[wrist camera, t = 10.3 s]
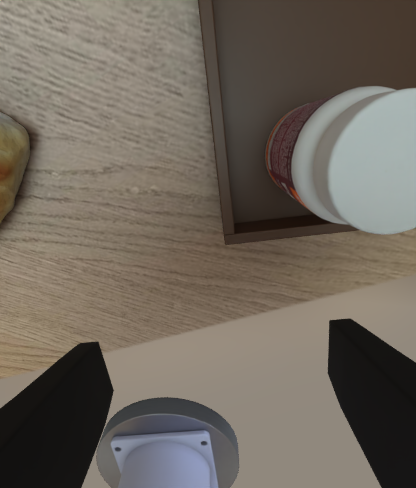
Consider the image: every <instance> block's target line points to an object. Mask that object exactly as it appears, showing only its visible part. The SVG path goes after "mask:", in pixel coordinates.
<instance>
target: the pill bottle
mask: <svg viewBox="0 0 416 488" xmlns="http://www.w3.org/2000/svg"><path fill="white" fill-rule="evenodd" d="M265 161H266V167H267V170H268V172H269V175H270V176H271V178H272V180H273V181H274V182H275V184H276V185H277V186H278V187H280V188H281V189H282V190H283V191H285V192H286V193H287V194H288V195H290V196H291V197H292V198H294V199H295V200H296V201H298V202H299V203H300V204H302V205H303V206H305V207H306V208H307V209H308V210H310V211H311V212H313V213H314V214H315V215H317V216H319V217H320V218H322V219H324V220H327V221H330V222H333V223H338V224H349V225H351V226H353V227H354V228H357V229H359V230H361V231H364V232H368V233H373V234H395V233H400V232H404V231H408V230H411V229H414V228H416V88H408V89H401V90H395V89H391V88H387V87H381V86H367V87H357V88H353V89H350V90H347V91H344V92H341V93H339V94H336V95H333V96H330V97H327V98H325V99H321V100H319V101H315V102H312V103H308V104H305V105H303V106H300V107H298V108H296V109H294V110H292V111H290V112H289V113H287V114H286V115H285V116H283V117H282V118H281V119H280V120H279V121H278V123H277V124H276V125H275V127H274V128H273V130H272V131H271V133H270V136H269V138H268V141H267V144H266V150H265Z"/></svg>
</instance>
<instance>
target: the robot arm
mask: <svg viewBox="0 0 416 488" xmlns="http://www.w3.org/2000/svg"><path fill="white" fill-rule="evenodd" d="M328 356H329V357H328V375H329V377H330V380H331V382H332V386H333V388H334V391H335V394H336V396H337V399H338V401H339V404H340V407H341V409H342V411H343V413H344V415H345V417H346V418H347V421H348V422H349V425H350V427H351V429H352V431H353V433H354V435H355V437H356V438H357V441H358V442H359V444H360V446H361V448H362V450H363V452H364V454H365V456H366V458H367V460H368V462H369V464H370V466H371V468H372V470H373V472H374V474H375V476H376V477H377V480H378V482H379V483H380V485H381V487H382V488H416V363H415V362H414V361H412V360H411V359H409V358H408V357H406V356H405V355H403V354H402V353H400V352H399V351H397V350H396V349H394V348H393V347H392V346H390V345H388V344H387V343H386V342H384V341H383V340H381V339H380V338H378V337H377V336H375V335H374V334H373V333H371V332H370V331H368V330H367V329H365V328H364V327H362V326H361V325H359V324H358V323H356V322H355V321H353V320H352V319H339V320H330V321H329V355H328ZM113 391H114V390H113V387H112V384H111V380H110V377H109V374H108V371H107V368H106V365H105V361H104V358H103V355H102V352H101V349H100V345H99V342H88V343H80V344H78V345H77V346H75V347H74V348H73V349H72V350H70V351H69V352H68V353H67V354H65V355H64V356H63V357H62V358H61V359H59V360H58V361H57V362H56V363H55V364H53V365H52V366H51V367H50V368H49V369H48V370H46V371H45V372H44V373H43V374H42V375H40V376H39V377H38V378H37V379H36V380H35V381H33V382H32V383H31V384H30V385H29V386H27V387H26V388H25V389H24V390H23V391H21V392H20V393H19V394H18V395H17V396H16V397H14V398H13V399H12V400H10V401H9V402H8V403H7V404H5V405H4V406H3V407H2V408H0V488H81V487H82V484H83V482H84V479H85V476H86V474H87V471H88V469H89V466H90V464H91V461H92V458H93V456H94V453H95V450H96V448H97V445H98V442H99V440H100V437H101V434H102V432H103V429H104V426H105V423H106V419H107V415H108V412H109V408H110V404H111V400H112V395H113ZM111 447H112V450H113V453H114V456H115V459H116V462H117V464H118V467H119V470H120V473H121V478H120V481H119V485H118V488H219V486H218V480H217V475H216V469H215V463H214V458H213V452H212V446H211V440H210V435H209V433H208V432H207V431H205V430H198V431H184V432H170V433H157V434H143V435H129V436H116V437H114V438H112V440H111Z"/></svg>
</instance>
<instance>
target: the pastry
mask: <svg viewBox="0 0 416 488" xmlns="http://www.w3.org/2000/svg"><path fill="white" fill-rule="evenodd" d="M29 144H30V143H29V136H28V133H27V131H26V129H25V128H24V127H23V126H21V125H20V124H19V123H17V122H16V121H15V120H13V119H12V118H11V117H9V116H7V115H5V114H4V113H2V112H0V224H1V222H2V220H3V218H4V217H5V216H6V214H7V213H8V212H9V211H11V210H12V209H13V207H14V199H15V196H16V194H17V193H18V191H19V187H20V183H21V182H22V180H23V177H22V176H23V174H24V170H25V167H26V166H27V163H28V160H29V156H30V146H29Z"/></svg>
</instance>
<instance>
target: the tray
mask: <svg viewBox="0 0 416 488" xmlns="http://www.w3.org/2000/svg"><path fill="white" fill-rule="evenodd" d="M198 5H199V14H200V23H201V32H202V41H203V50H204V59H205V68H206V77H207V86H208V95H209V104H210V113H211V122H212V131H213V141H214V150H215V159H216V168H217V177H218V186H219V195H220V204H221V213H222V222H223V231H224V240H225V245H229V244H238V243H247V242H256V241H266V240H275V239H284V238H293V237H302V236H311V235H320V234H329V233H338V232H347V231H356V230H359V229H357V228H354V227H353V226H351V225H349V224H338V223H333V222H330V221H327V220H324V219H322V218H320V217H319V216H317V215H315V214H314V213H313V212H311V211H310V210H308V209H307V208H306V207H305V206H303V205H302V204H300V203H299V202H298V201H296V200H295V199H294V198H292V197H291V196H290V195H288V194H287V193H286V192H285V191H283V190H282V189H281V188H280V187H278V186H277V185H276V184H275V182H274V181H273V180H272V178H271V176H270V175H269V172H268V170H267V167H266V161H265V150H266V144H267V141H268V138H269V136H270V133H271V131H272V130H273V128H274V127H275V125H276V124H277V123H278V121H279V120H280V119H281V118H282V117H283V116H285V115H286V114H287V113H289V112H290V111H292V110H294V109H296V108H298V107H300V106H303V105H305V104H308V103H312V102H315V101H319V100H321V99H325V98H327V97H330V96H333V95H336V94H339V93H341V92H344V91H347V90H350V89H353V88H357V87H367V86H381V87H387V88H391V89H395V90H401V89H408V88H416V0H198Z"/></svg>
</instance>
